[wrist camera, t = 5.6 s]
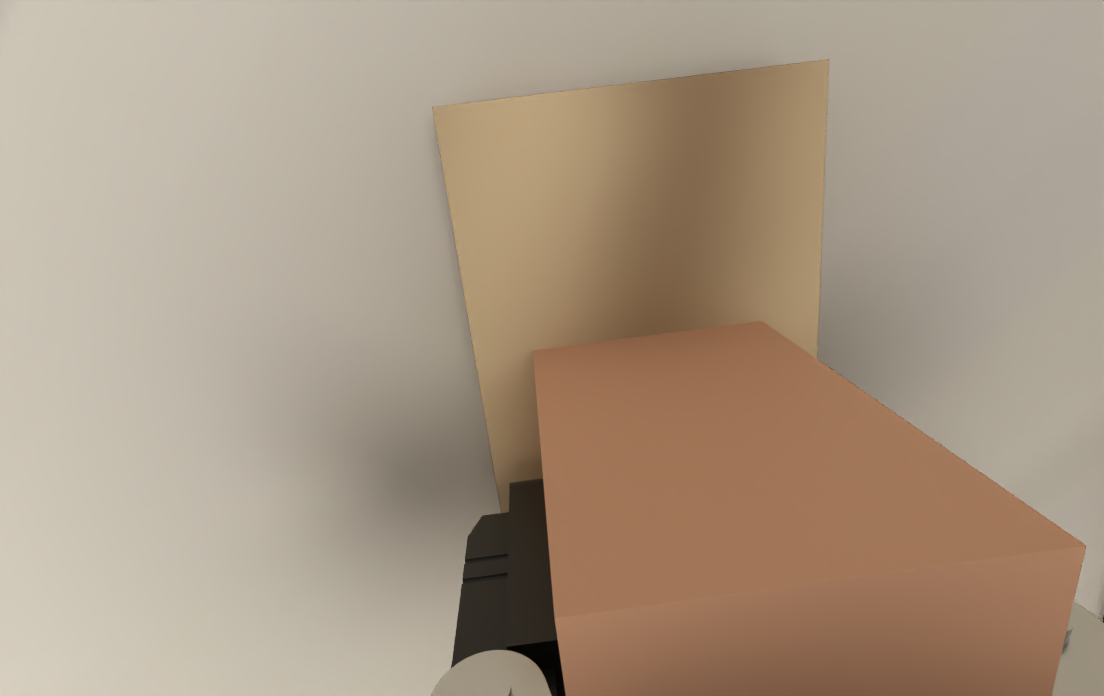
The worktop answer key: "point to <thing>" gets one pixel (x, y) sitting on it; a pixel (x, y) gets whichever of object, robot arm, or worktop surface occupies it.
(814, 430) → the stub
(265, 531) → the worktop surface
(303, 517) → the worktop surface
